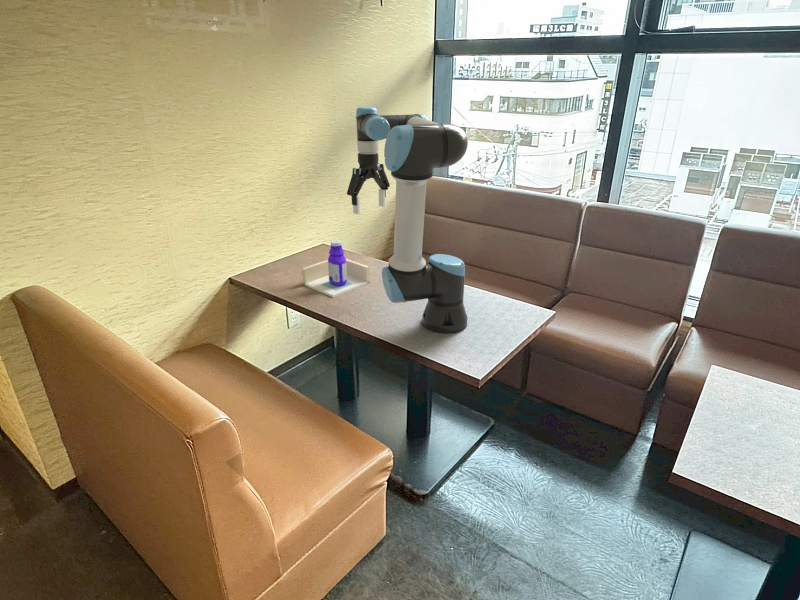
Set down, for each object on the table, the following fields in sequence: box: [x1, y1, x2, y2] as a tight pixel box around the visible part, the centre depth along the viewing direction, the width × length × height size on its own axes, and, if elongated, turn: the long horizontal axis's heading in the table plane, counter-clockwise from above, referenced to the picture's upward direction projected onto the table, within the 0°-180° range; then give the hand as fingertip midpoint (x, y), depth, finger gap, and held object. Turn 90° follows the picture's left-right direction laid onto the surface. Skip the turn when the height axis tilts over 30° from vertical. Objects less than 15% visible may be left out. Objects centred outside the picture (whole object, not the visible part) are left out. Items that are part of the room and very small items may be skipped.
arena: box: [301, 258, 370, 299], centre depth 198 cm, size 18×19×7 cm
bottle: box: [327, 239, 347, 286], centre depth 194 cm, size 7×6×17 cm
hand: (369, 209), depth 192 cm, fingers open, 13 cm apart
